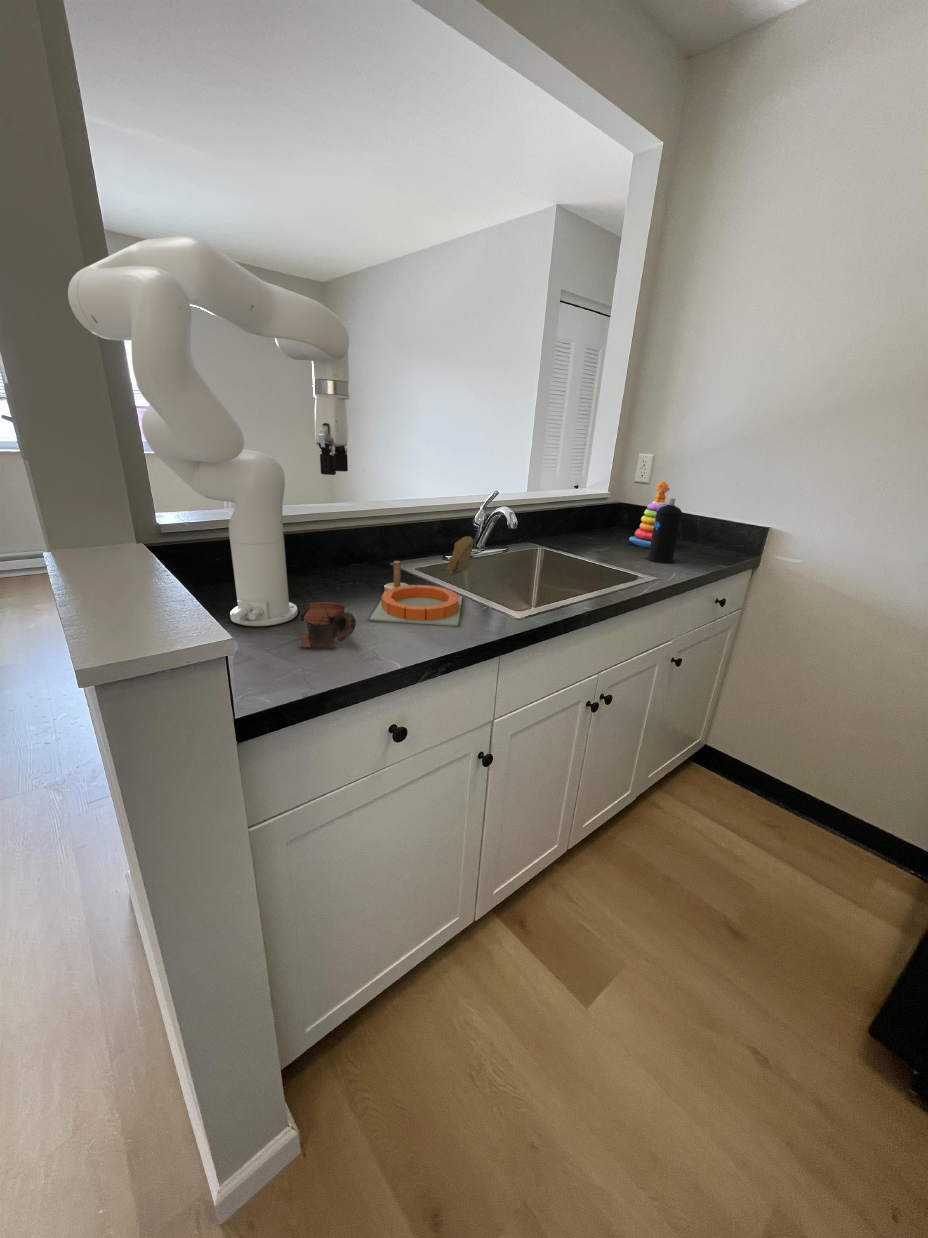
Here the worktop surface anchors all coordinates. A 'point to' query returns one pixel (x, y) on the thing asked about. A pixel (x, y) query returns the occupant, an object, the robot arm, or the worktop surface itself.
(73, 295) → the robot arm
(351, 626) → the pottery mug
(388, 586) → the wooden peg disc
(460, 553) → the rock
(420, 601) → the mat
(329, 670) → the worktop surface
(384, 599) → the ring
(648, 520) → the stacking toy
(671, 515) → the aerosol can
